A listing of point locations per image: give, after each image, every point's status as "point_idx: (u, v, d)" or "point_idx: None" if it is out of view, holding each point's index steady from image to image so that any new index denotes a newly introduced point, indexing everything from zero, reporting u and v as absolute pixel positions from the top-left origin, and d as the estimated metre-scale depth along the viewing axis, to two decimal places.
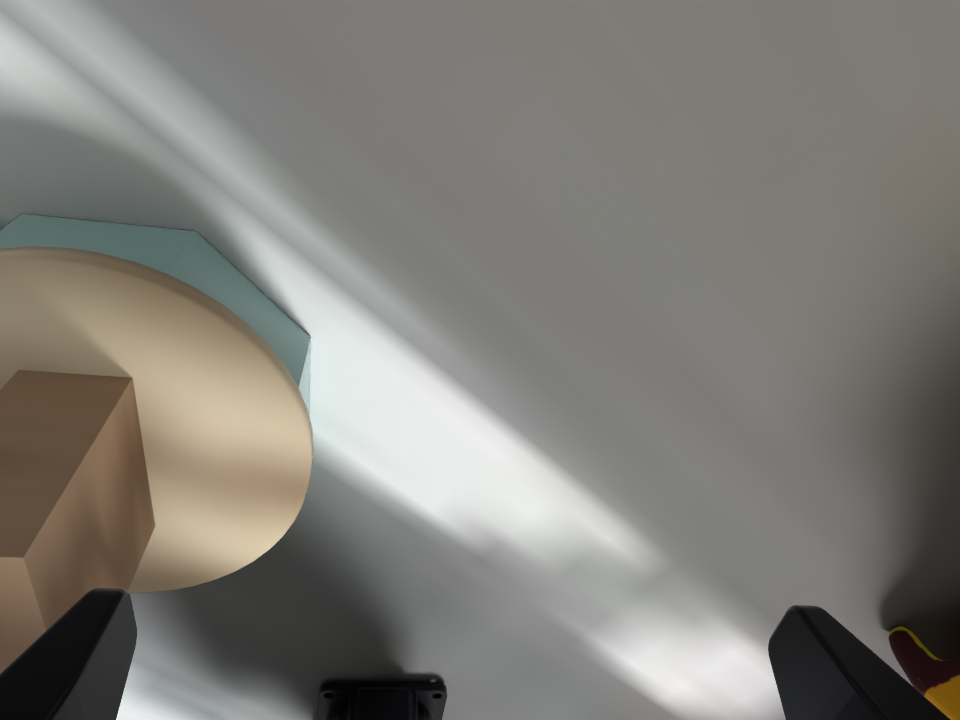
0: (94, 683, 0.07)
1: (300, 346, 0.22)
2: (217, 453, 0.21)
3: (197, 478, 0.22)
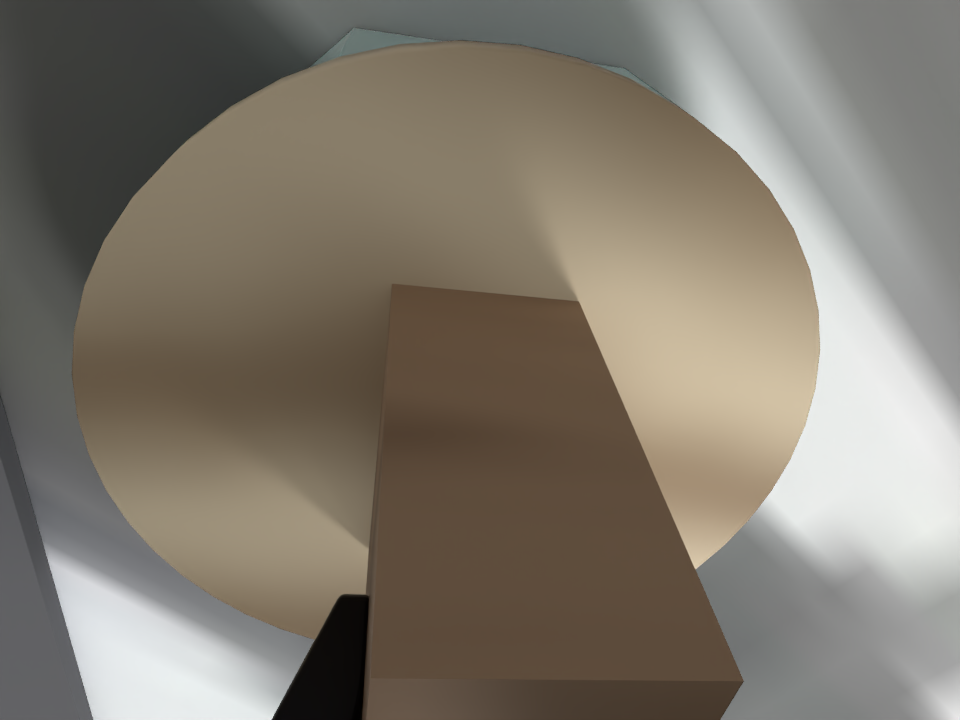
0: None
1: None
2: (658, 437, 0.13)
3: None
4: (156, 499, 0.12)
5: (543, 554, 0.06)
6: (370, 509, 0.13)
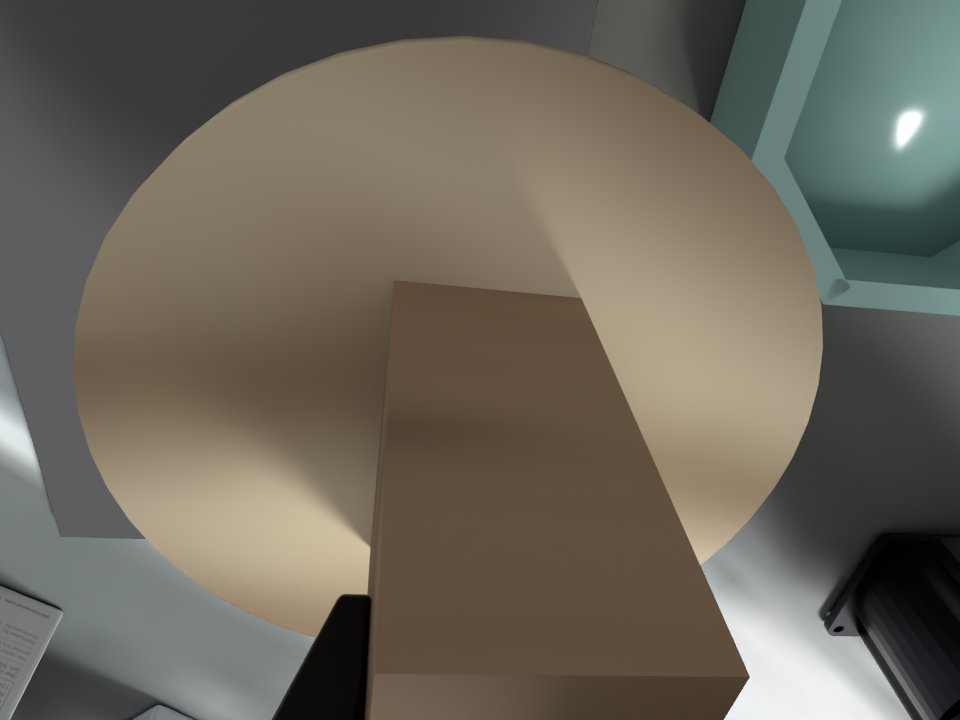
0: None
1: None
2: (660, 435, 0.13)
3: None
4: (157, 496, 0.12)
5: (546, 550, 0.06)
6: (372, 507, 0.13)
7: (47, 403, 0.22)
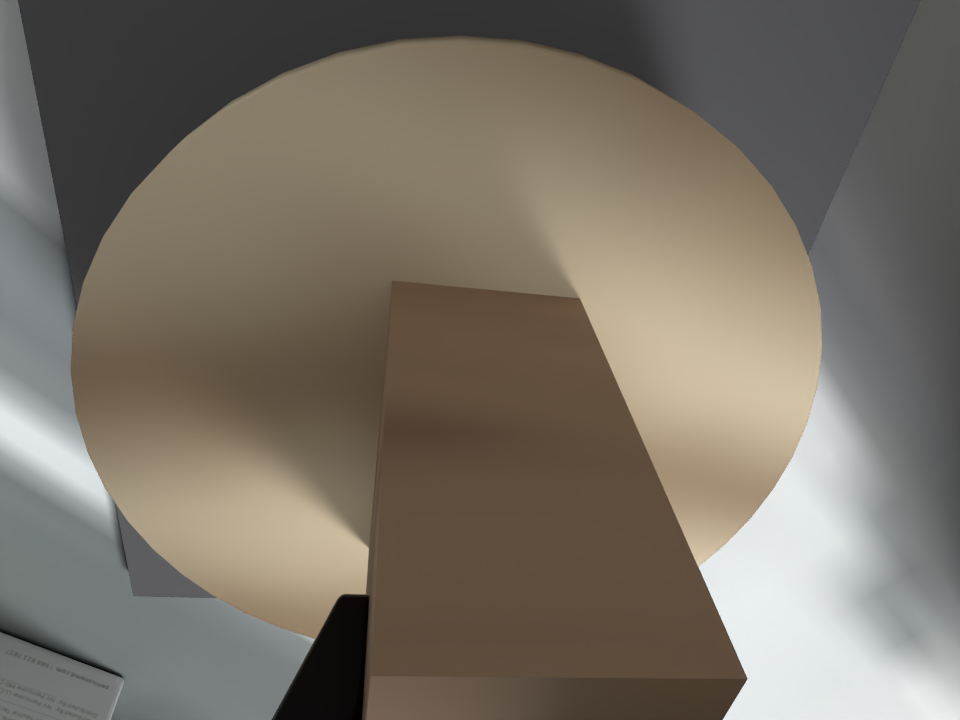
0: None
1: None
2: (659, 435, 0.13)
3: None
4: (155, 497, 0.12)
5: (543, 551, 0.06)
6: (370, 507, 0.13)
7: None
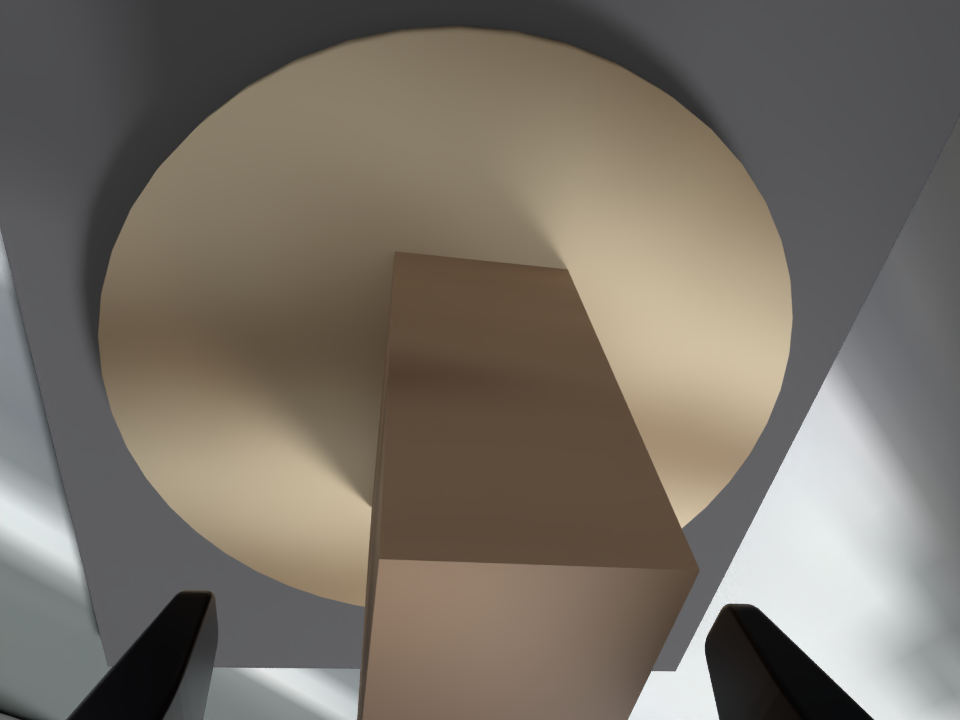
0: (191, 684, 0.08)
1: None
2: (643, 401, 0.14)
3: None
4: (173, 456, 0.13)
5: (528, 472, 0.07)
6: (373, 468, 0.14)
7: (105, 500, 0.15)
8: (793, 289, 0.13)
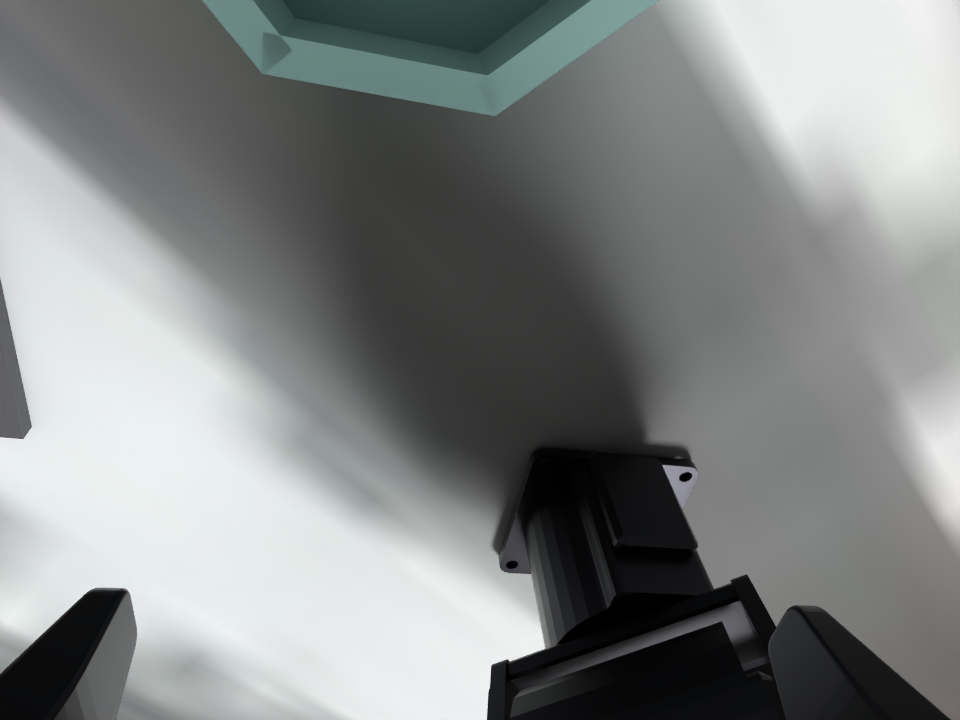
0: (94, 683, 0.07)
1: None
2: None
3: None
4: None
5: None
6: None
7: None
8: None
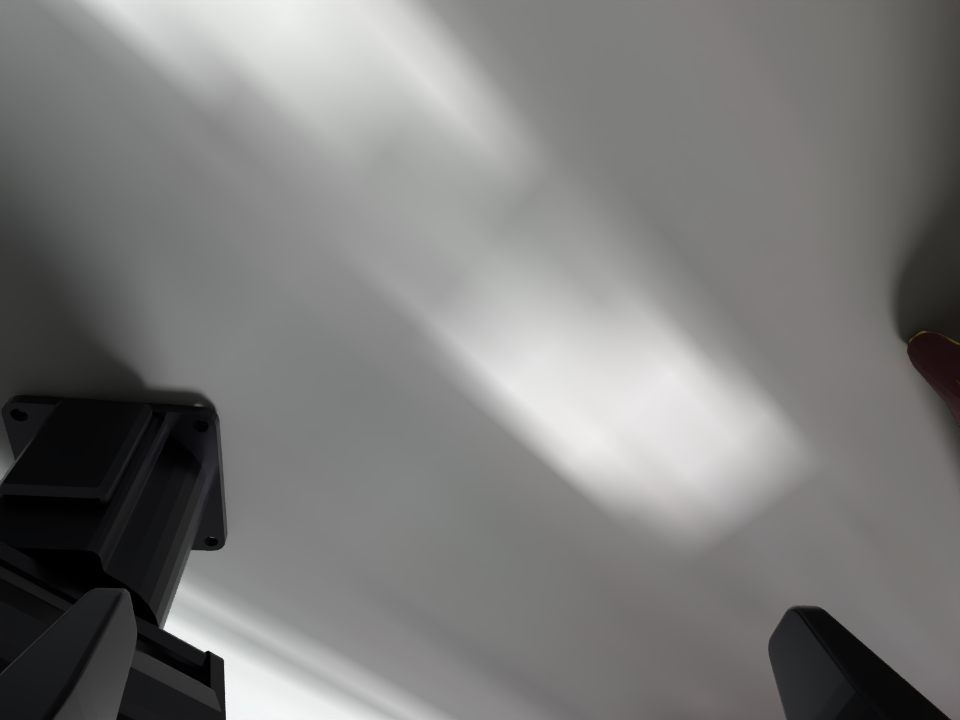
0: (94, 683, 0.07)
1: None
2: None
3: None
4: None
5: None
6: None
7: None
8: None
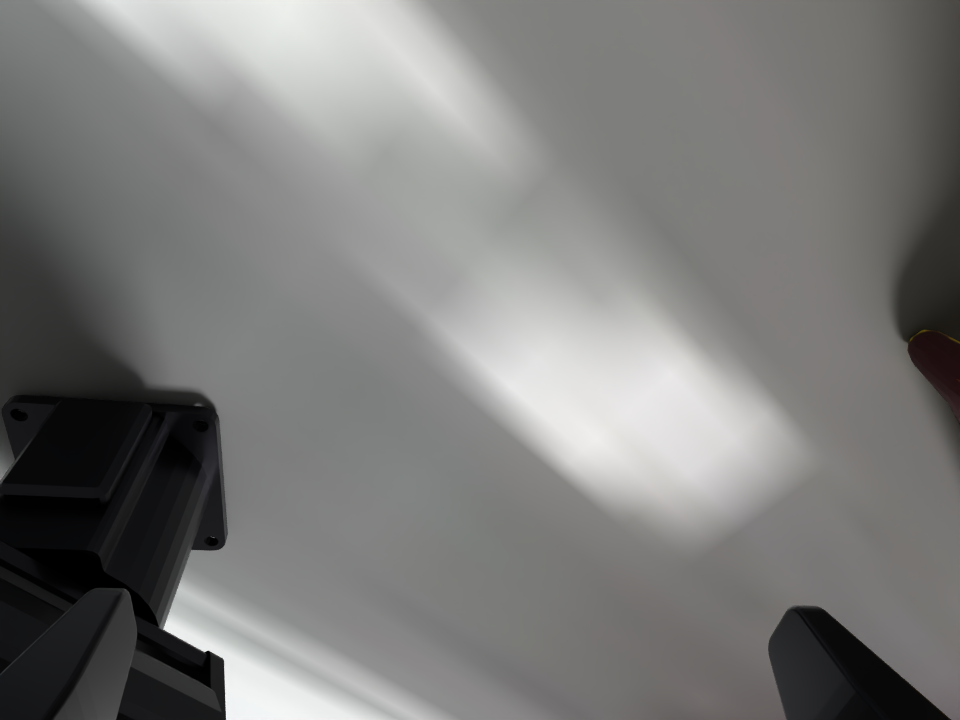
0: (94, 683, 0.07)
1: None
2: None
3: None
4: None
5: None
6: None
7: None
8: None
